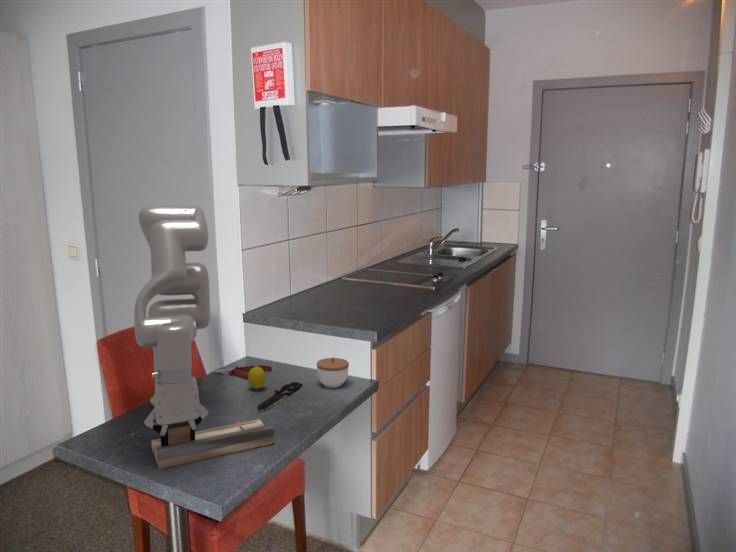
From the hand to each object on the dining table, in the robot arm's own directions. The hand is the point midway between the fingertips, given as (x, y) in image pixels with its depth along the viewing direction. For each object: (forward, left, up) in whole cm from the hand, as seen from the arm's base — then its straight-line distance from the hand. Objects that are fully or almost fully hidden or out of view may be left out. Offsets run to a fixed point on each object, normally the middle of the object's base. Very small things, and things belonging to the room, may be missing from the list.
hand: (178, 445), depth 132 cm
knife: (-25, +35, -4) cm, 43 cm away
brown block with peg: (-2, 0, -1) cm, 2 cm away
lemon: (-35, +31, -3) cm, 46 cm away
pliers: (-52, +32, -4) cm, 62 cm away
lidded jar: (-28, +55, -3) cm, 61 cm away
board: (-2, +9, -3) cm, 9 cm away
